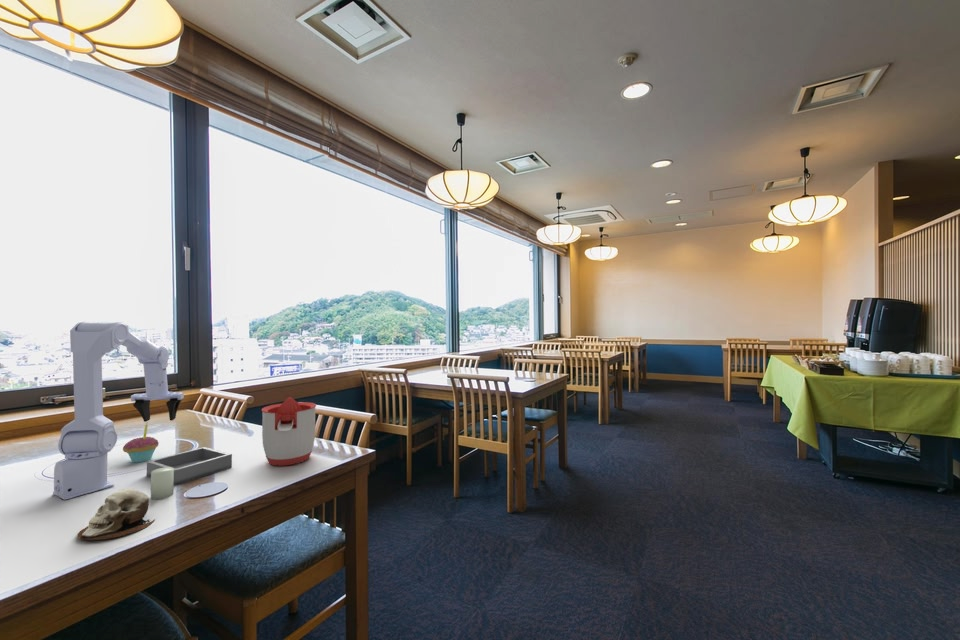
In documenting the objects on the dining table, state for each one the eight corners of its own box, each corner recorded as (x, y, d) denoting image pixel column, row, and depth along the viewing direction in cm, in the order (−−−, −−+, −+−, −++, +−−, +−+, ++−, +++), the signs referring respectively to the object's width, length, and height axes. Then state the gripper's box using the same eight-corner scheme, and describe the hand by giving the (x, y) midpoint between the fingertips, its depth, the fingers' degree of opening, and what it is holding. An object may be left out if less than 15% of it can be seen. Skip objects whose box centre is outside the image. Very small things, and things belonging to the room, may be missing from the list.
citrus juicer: (254, 474, 112) (254, 404, 112) (266, 455, 128) (267, 394, 128) (313, 467, 116) (313, 401, 117) (318, 450, 133) (318, 391, 133)
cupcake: (165, 456, 127) (165, 419, 128) (140, 465, 119) (140, 426, 119) (141, 455, 128) (142, 418, 129) (115, 464, 120) (115, 425, 120)
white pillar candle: (156, 501, 95) (156, 474, 95) (147, 497, 97) (147, 471, 97) (176, 494, 99) (177, 468, 99) (168, 490, 101) (168, 466, 101)
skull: (94, 545, 74) (78, 498, 77) (79, 570, 77) (64, 524, 80) (168, 516, 84) (151, 475, 87) (152, 538, 88) (136, 499, 91)
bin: (173, 485, 104) (173, 470, 104) (146, 475, 111) (146, 461, 111) (231, 467, 117) (231, 454, 117) (204, 459, 124) (204, 446, 124)
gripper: (187, 377, 136) (190, 414, 138) (138, 378, 133) (142, 416, 135) (176, 383, 129) (179, 422, 131) (125, 385, 126) (129, 424, 128)
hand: (160, 420), depth 133 cm, fingers open, 7 cm apart
